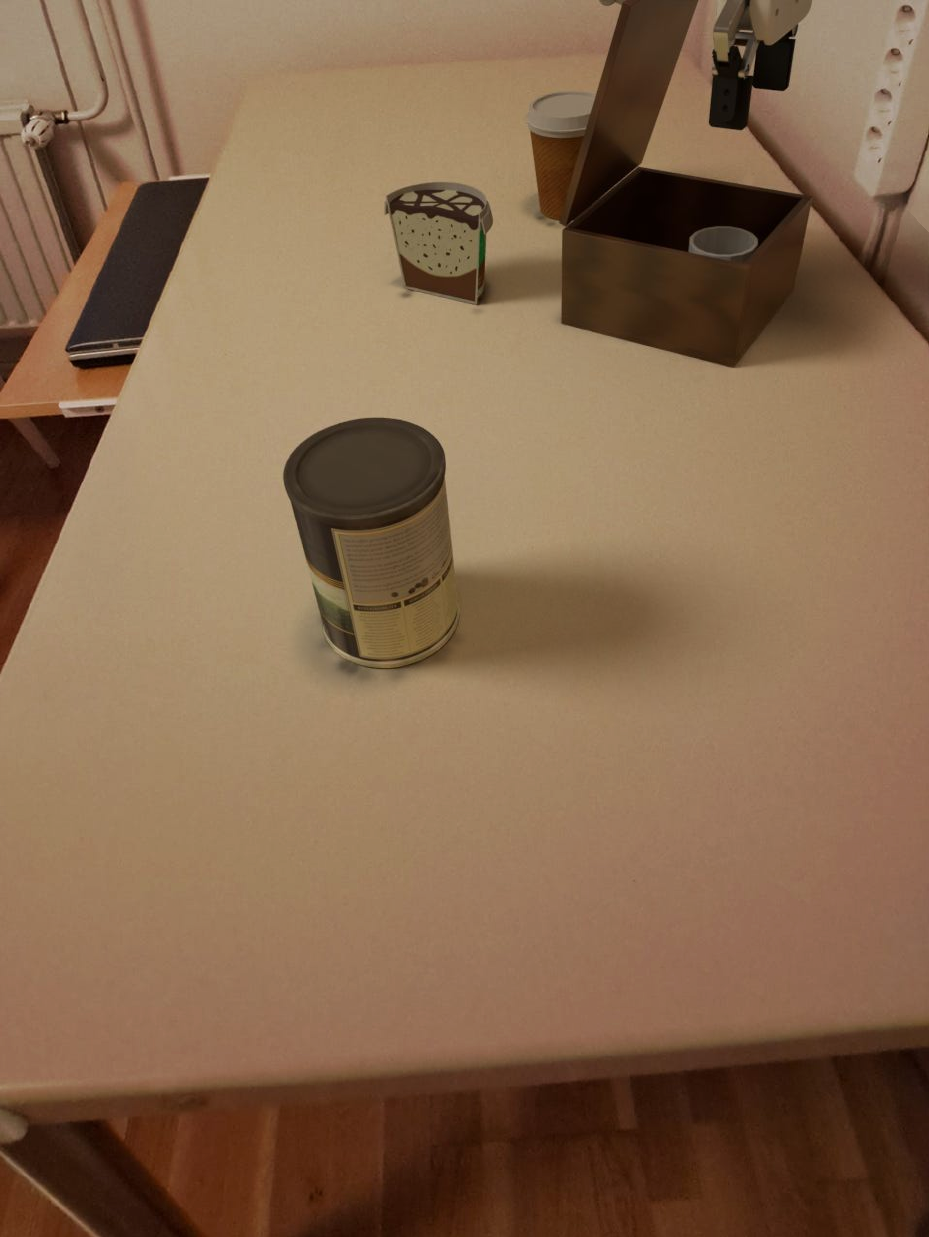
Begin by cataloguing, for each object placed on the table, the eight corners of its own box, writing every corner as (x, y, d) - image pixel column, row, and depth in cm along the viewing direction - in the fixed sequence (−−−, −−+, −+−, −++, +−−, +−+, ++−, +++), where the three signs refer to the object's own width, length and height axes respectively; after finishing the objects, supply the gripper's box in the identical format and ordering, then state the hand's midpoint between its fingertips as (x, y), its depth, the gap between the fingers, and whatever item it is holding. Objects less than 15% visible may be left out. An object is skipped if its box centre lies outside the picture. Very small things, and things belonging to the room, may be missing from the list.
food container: (516, 282, 103) (514, 189, 96) (489, 307, 100) (484, 213, 93) (422, 261, 108) (413, 172, 101) (393, 285, 105) (381, 194, 97)
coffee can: (297, 650, 68) (252, 498, 57) (359, 557, 74) (328, 405, 64) (428, 685, 65) (405, 531, 54) (481, 585, 71) (469, 430, 61)
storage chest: (794, 290, 98) (813, 195, 91) (733, 367, 89) (749, 269, 82) (632, 255, 106) (638, 166, 99) (561, 323, 97) (561, 229, 90)
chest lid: (714, -46, 83) (662, -71, 84) (631, 5, 73) (573, -23, 74) (641, 163, 98) (598, 140, 99) (565, 226, 89) (518, 201, 90)
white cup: (756, 300, 96) (767, 233, 91) (732, 329, 92) (742, 261, 87) (697, 287, 98) (705, 221, 93) (671, 315, 95) (678, 248, 90)
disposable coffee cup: (517, 223, 114) (515, 116, 105) (539, 190, 120) (538, 87, 111) (594, 229, 111) (598, 121, 102) (612, 196, 117) (617, 90, 108)
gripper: (788, -119, 63) (754, 149, 75) (867, -166, 72) (825, 79, 85) (683, -119, 66) (667, 138, 78) (772, -165, 75) (745, 71, 88)
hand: (749, 107), depth 81 cm, fingers open, 9 cm apart
